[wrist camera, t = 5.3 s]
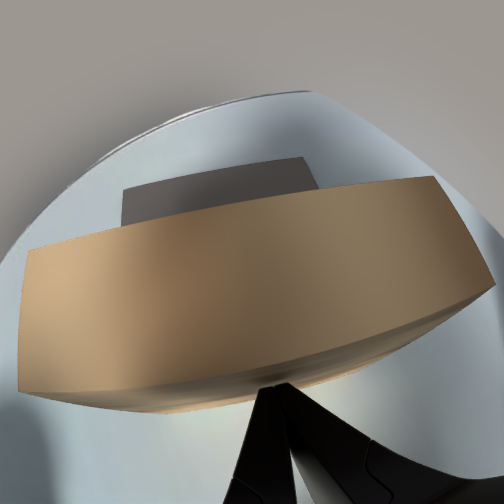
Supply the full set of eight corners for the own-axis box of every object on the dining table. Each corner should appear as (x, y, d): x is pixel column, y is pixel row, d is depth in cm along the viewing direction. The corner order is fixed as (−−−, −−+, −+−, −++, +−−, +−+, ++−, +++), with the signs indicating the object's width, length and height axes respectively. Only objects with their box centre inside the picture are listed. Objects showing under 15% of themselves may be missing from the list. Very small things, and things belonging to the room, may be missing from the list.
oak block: (338, 318, 17) (433, 175, 7) (355, 371, 16) (495, 284, 5) (158, 356, 16) (28, 251, 6) (167, 414, 15) (18, 391, 4)
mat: (302, 160, 24) (302, 156, 24) (364, 302, 18) (366, 300, 17) (124, 193, 23) (123, 189, 22) (126, 352, 16) (123, 351, 16)
